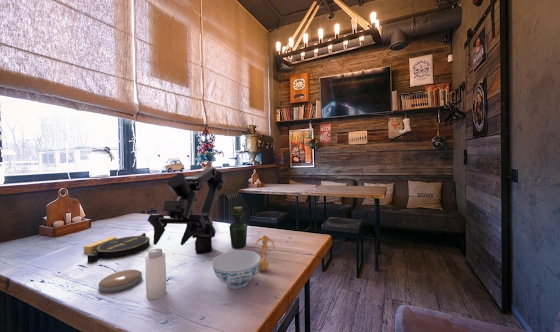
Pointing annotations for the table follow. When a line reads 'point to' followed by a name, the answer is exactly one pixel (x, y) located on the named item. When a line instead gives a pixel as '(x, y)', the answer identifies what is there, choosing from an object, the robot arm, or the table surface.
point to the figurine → (263, 262)
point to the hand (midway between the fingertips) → (167, 244)
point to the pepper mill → (155, 274)
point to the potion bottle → (238, 230)
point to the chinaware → (236, 267)
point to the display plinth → (120, 281)
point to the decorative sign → (116, 247)
